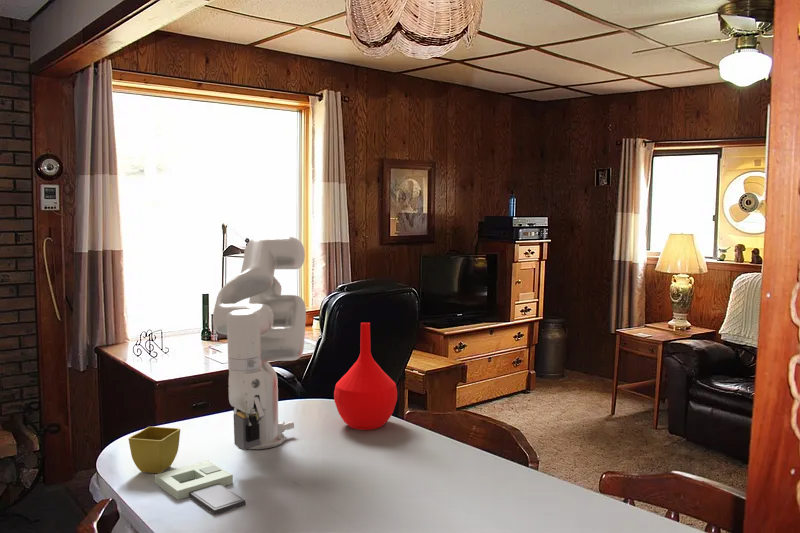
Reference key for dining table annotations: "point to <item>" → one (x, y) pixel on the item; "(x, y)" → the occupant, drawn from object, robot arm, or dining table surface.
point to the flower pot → (154, 448)
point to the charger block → (243, 431)
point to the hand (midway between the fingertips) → (247, 436)
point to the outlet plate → (202, 474)
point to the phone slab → (217, 498)
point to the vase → (365, 390)
